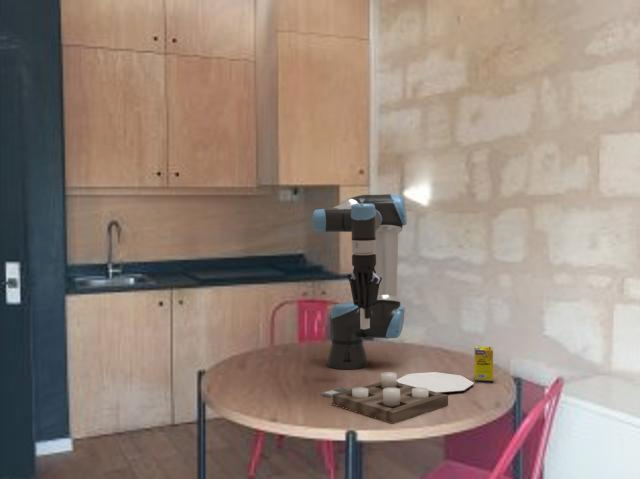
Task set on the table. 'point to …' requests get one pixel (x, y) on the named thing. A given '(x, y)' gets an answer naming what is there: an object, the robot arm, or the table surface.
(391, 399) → the button
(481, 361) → the supplement box
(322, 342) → the table surface
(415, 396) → the button
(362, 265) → the robot arm
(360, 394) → the button
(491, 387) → the table surface
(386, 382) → the button
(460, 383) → the plate
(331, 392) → the card
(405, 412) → the board
